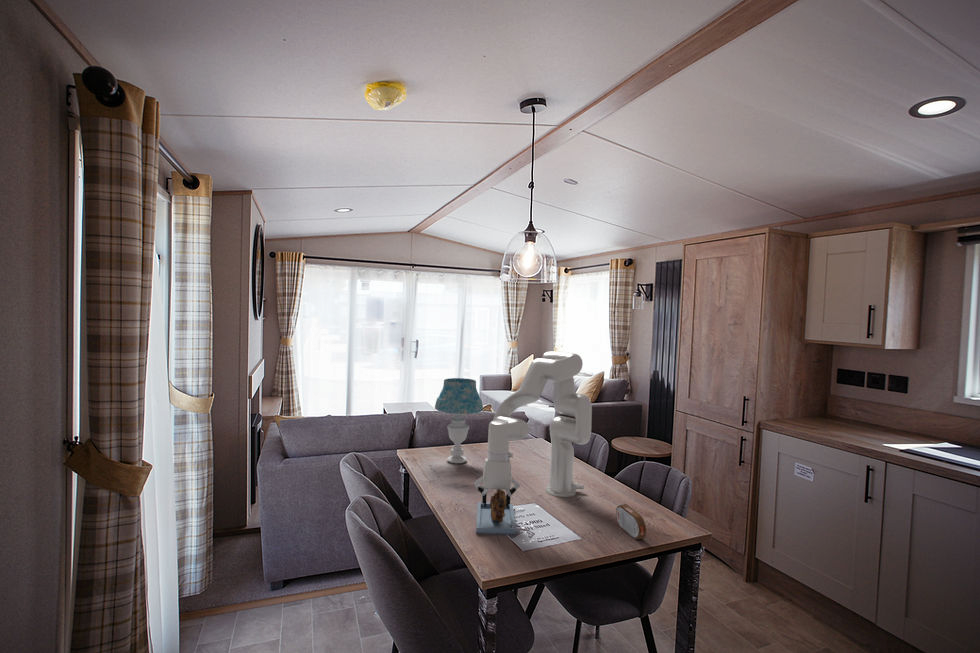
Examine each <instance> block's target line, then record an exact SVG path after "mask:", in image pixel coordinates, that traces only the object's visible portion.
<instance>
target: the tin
mask: <svg viewBox="0 0 980 653" xmlns="http://www.w3.org/2000/svg"><path fill="white" fill-rule="evenodd" d="M615 510H616V511H615V513H616V514H615V516H616V521H617V524H618V525H619V528H621V529H622V530H623V531H625V532H626V533H627V534H628V535H630V536H631V537H632V538H633V537H634V540H636V539H638V540H643V539H645V538H646V536H647V526H646V522H645V519H644V518H643V516H642V515H641V514H640V513H639V512H638V511H637V510H635V509H634V508H632V507H631V506H629V505H628V504H626V503H624V504H620V505H618V506H617V507H616V509H615Z"/></svg>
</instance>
